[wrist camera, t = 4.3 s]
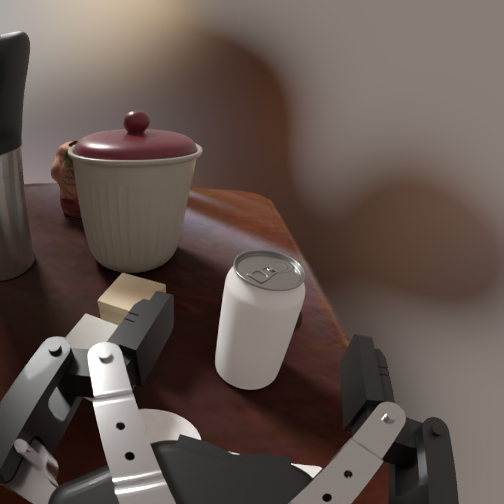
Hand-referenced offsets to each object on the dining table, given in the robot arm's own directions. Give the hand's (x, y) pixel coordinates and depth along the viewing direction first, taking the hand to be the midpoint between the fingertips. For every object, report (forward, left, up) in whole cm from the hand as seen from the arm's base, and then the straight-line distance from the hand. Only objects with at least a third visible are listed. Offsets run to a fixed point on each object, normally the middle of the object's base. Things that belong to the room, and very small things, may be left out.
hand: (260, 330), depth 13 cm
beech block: (0, +16, -15) cm, 22 cm away
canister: (+6, +32, -15) cm, 36 cm away
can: (+8, +7, -15) cm, 18 cm away
